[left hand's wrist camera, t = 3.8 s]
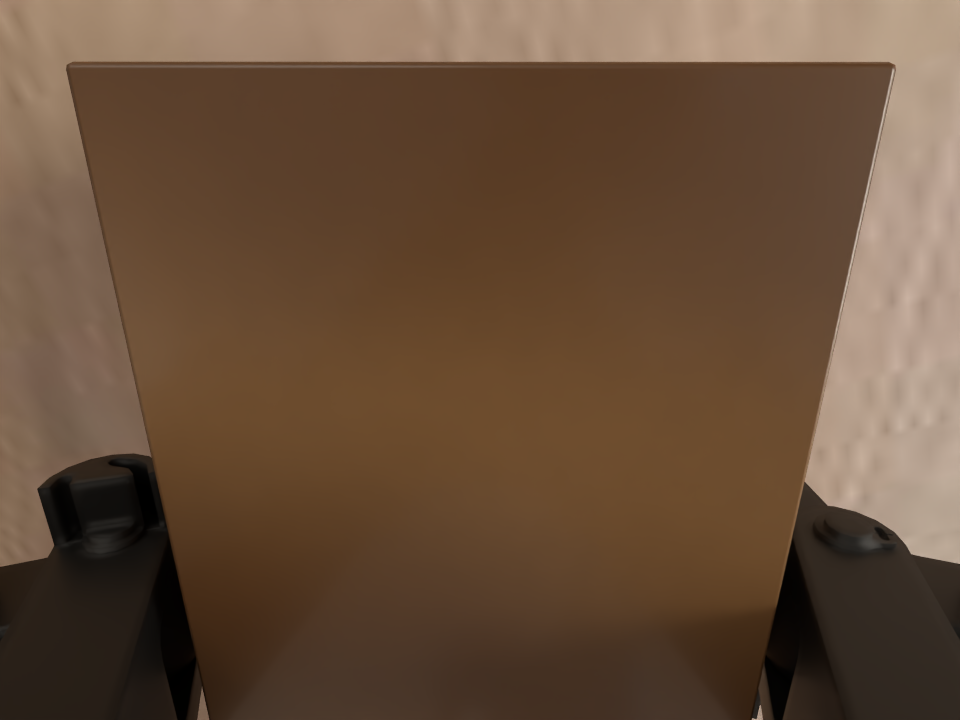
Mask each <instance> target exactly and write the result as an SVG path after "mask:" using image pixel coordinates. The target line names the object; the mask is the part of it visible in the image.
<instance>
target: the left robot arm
mask: <svg viewBox="0 0 960 720" xmlns="http://www.w3.org/2000/svg"><path fill="white" fill-rule="evenodd" d="M38 493H39V496H40V499H41V503H42V506H43V509H44V512H45V516H46V519H47V522H48V526H49V529H50V532H51V536H52V539H53V542H54V545H55V546H54V548H53V549H52V551H51V553H50V555H49V556H48V558H44V559H39V560H34V561H29V562H24V563H18V564H13V565H8V566H3V567H0V720H197V716H198V709H199V703H200V696H201V689H202V683H201V679H200V674H199V670H198V665H197V661H196V656H195V651H194V647H193V642H192V638H191V633H190V629H189V624H188V620H187V615H186V611H185V606H184V602H183V597H182V592H181V588H180V583H179V579H178V574H177V570H176V565H175V561H174V556H173V552H172V547H171V543H170V538H169V533H168V529H167V524H166V520H165V515H164V511H163V506H162V502H161V497H160V493H159V488H158V484H157V479H156V474H155V470H154V465H153V461H152V458H151V457H149V456H144V455H138V454H118V455H110V456H105V457H100V458H95V459H90V460H88V461H85V462H82V463H79V464H76V465H74V466H71V467H68V468H66V469H64V470H63V471H61V472H59V473H57V474H55V475H53V476H52V477H50V478H49V479H48V480H46V481H45V482H44V483H43V484H42V485H41V486H40V487H39V488H38ZM760 705H761V708H762V715H763V720H960V564H957V563H951V562H946V561H941V560H936V559H930V558H925V557H920V556H916V555H912V554H911V553H910V552H909V550H908V548H907V546H906V545H905V544H904V542H903V541H902V540H901V539H900V538H899V537H898V536H897V535H896V533H895V532H893V531H892V530H890V529H889V528H887V527H886V526H884V525H883V524H881V523H879V522H878V521H876V520H874V519H872V518H869V517H867V516H864V515H862V514H860V513H857V512H854V511H850V510H846V509H842V508H838V507H834V506H827V505H826V504H825V503H824V501H823V500H822V499H821V498H820V497H819V496H818V495H817V494H816V493H815V492H814V491H813V490H812V489H811V488H810V487H809V486H808V485H807V484H806V483H805V482H804V486H803V490H802V495H801V499H800V504H799V508H798V513H797V517H796V522H795V526H794V531H793V535H792V540H791V544H790V549H789V553H788V558H787V562H786V567H785V571H784V576H783V580H782V585H781V589H780V594H779V598H778V603H777V607H776V612H775V616H774V621H773V625H772V630H771V634H770V639H769V643H768V648H767V652H766V657H765V661H764V666H763V670H762V675H761V679H760V684H759V688H758V693H757V697H756V702H755V706H754V711H753V715H752V718H755V719H757V715H758V710H759V706H760Z"/></svg>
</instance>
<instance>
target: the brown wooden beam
mask: <svg viewBox="0 0 960 720" xmlns="http://www.w3.org/2000/svg"><path fill="white" fill-rule="evenodd" d="M66 71H67V75H68V80H69V84H70V89H71V93H72V98H73V102H74V107H75V111H76V116H77V121H78V125H79V130H80V134H81V139H82V143H83V148H84V152H85V157H86V161H87V166H88V170H89V175H90V180H91V184H92V189H93V193H94V198H95V202H96V207H97V211H98V216H99V220H100V225H101V229H102V234H103V238H104V243H105V248H106V252H107V257H108V261H109V266H110V270H111V275H112V279H113V284H114V288H115V293H116V297H117V302H118V307H119V311H120V316H121V320H122V325H123V329H124V334H125V338H126V343H127V347H128V352H129V356H130V361H131V366H132V370H133V375H134V379H135V384H136V388H137V393H138V397H139V402H140V406H141V411H142V415H143V420H144V425H145V429H146V434H147V438H148V443H149V447H150V452H151V456H152V461H153V465H154V470H155V474H156V479H157V484H158V488H159V493H160V497H161V502H162V506H163V511H164V515H165V520H166V524H167V529H168V533H169V538H170V543H171V547H172V552H173V556H174V561H175V565H176V570H177V574H178V579H179V583H180V588H181V592H182V597H183V602H184V606H185V611H186V615H187V620H188V624H189V629H190V633H191V638H192V642H193V647H194V651H195V656H196V661H197V665H198V670H199V674H200V679H201V683H202V688H203V692H204V697H205V701H206V706H207V710H208V715H209V720H752V715H753V711H754V706H755V702H756V697H757V693H758V688H759V684H760V679H761V675H762V670H763V666H764V661H765V657H766V652H767V648H768V643H769V639H770V634H771V630H772V625H773V621H774V616H775V612H776V607H777V603H778V598H779V594H780V589H781V585H782V580H783V576H784V571H785V567H786V562H787V558H788V553H789V549H790V544H791V540H792V535H793V531H794V526H795V522H796V517H797V513H798V508H799V504H800V499H801V495H802V490H803V486H804V481H805V477H806V472H807V468H808V463H809V459H810V454H811V450H812V445H813V441H814V436H815V432H816V427H817V423H818V418H819V414H820V409H821V405H822V400H823V396H824V391H825V387H826V382H827V378H828V373H829V369H830V364H831V360H832V355H833V351H834V346H835V342H836V337H837V332H838V328H839V323H840V319H841V314H842V310H843V305H844V301H845V296H846V292H847V287H848V283H849V278H850V274H851V269H852V265H853V260H854V256H855V251H856V247H857V242H858V238H859V233H860V229H861V224H862V220H863V215H864V211H865V206H866V202H867V197H868V193H869V188H870V184H871V179H872V175H873V170H874V166H875V161H876V157H877V152H878V148H879V143H880V139H881V134H882V130H883V125H884V121H885V116H886V112H887V107H888V103H889V98H890V94H891V89H892V85H893V80H894V76H895V71H896V67H895V65H894V64H892V63H890V62H72V63H70V64H67V68H66Z"/></svg>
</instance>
